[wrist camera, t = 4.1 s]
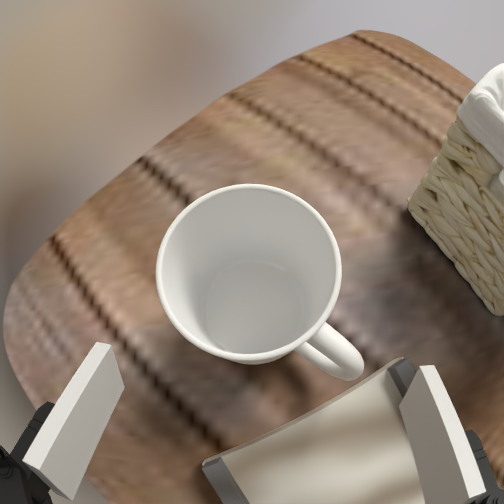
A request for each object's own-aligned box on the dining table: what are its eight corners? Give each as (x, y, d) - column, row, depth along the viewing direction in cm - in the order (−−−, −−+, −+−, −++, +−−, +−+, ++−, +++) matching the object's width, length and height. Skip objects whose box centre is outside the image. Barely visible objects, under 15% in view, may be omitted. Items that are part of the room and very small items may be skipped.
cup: (248, 236, 25) (241, 156, 16) (367, 332, 22) (434, 302, 13) (176, 313, 23) (121, 271, 14) (297, 419, 20) (325, 454, 10)
